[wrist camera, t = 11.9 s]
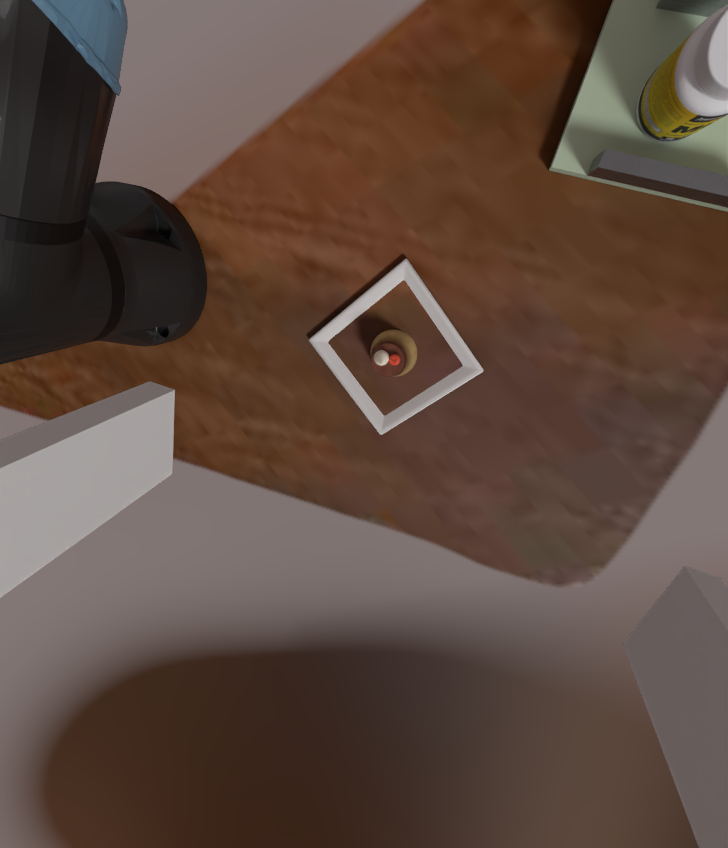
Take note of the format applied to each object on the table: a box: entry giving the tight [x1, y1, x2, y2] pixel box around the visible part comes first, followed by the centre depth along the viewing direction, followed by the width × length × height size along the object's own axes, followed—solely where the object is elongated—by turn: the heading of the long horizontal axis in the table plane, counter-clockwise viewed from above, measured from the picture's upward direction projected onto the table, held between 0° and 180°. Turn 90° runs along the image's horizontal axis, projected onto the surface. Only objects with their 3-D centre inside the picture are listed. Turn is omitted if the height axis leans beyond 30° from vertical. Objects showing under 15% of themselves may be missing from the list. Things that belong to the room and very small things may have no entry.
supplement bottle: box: [636, 5, 728, 142], centre depth 22 cm, size 5×5×8 cm
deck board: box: [549, 0, 728, 212], centre depth 26 cm, size 14×12×1 cm
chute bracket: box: [587, 0, 728, 208], centre depth 24 cm, size 10×10×3 cm
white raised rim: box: [309, 259, 483, 435], centre depth 37 cm, size 12×12×5 cm
